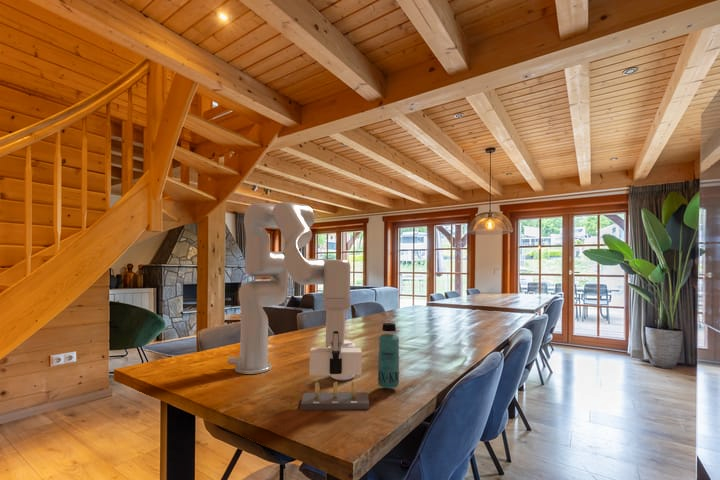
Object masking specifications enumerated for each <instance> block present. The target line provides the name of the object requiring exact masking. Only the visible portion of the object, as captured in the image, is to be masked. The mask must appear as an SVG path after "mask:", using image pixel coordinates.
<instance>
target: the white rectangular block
mask: <svg viewBox="0 0 720 480" xmlns="http://www.w3.org/2000/svg"><path fill="white" fill-rule="evenodd" d="M338 350H339V349H338ZM330 358H331V347H328V348H327V347H311V348H310V351H309V370H308V371H309V376H331V375H355V376H362V375H363V372H362V371H363V369H362V367H363V359H362V358H363V352H362V347H355V348H341V358H342V373H341V374H330Z"/></svg>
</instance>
